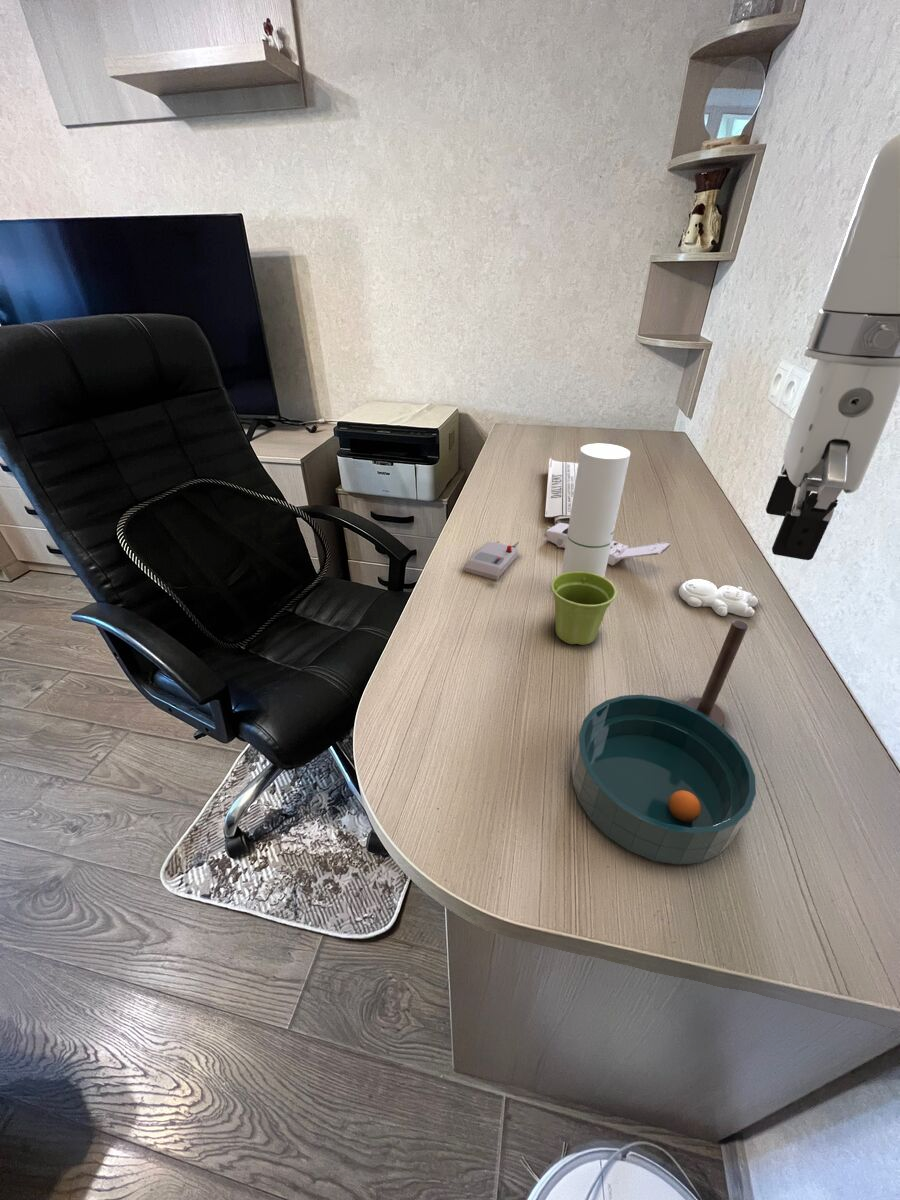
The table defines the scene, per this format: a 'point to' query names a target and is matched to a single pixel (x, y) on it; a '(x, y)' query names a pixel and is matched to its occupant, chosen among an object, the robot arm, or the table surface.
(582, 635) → the plant pot
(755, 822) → the table surface
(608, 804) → the bowl
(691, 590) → the white toy figurine
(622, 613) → the table surface
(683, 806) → the ball
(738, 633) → the stirring stick
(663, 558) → the table surface
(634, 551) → the mobile phone
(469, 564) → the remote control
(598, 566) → the cylindrical container
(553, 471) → the newspaper
